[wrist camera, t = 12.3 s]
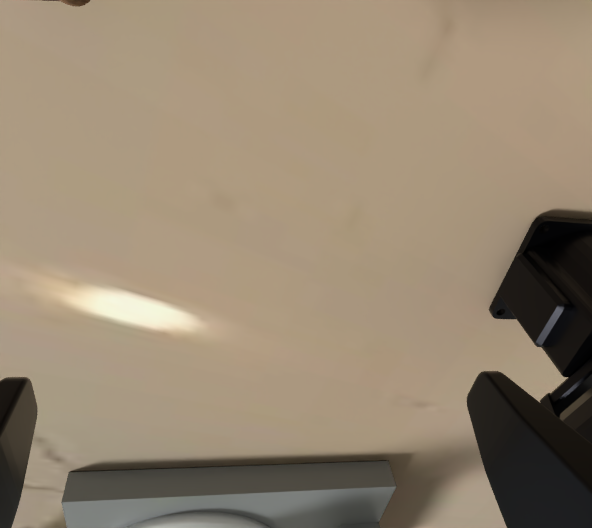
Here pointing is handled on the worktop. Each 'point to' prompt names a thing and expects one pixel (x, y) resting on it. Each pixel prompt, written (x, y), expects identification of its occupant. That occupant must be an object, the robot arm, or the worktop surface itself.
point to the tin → (73, 2)
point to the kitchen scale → (231, 496)
